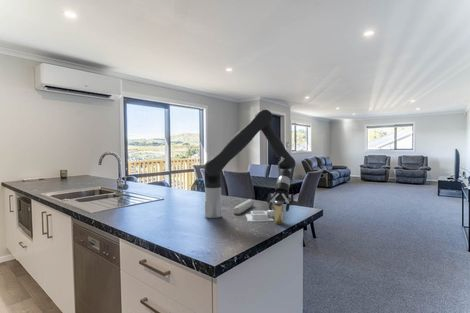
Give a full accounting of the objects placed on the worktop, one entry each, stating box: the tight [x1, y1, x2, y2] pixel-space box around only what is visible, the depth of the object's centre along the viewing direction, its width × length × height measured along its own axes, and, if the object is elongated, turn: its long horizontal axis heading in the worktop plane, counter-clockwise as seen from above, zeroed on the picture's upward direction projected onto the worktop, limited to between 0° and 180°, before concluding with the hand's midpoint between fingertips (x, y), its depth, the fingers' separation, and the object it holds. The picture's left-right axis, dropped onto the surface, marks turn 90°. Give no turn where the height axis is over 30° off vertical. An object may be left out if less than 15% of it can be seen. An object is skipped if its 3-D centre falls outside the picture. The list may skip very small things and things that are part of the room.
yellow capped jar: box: [273, 200, 285, 225], centre depth 139 cm, size 6×6×11 cm
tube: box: [233, 198, 255, 215], centre depth 168 cm, size 5×5×25 cm
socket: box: [245, 209, 274, 223], centre depth 149 cm, size 18×14×4 cm
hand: (278, 210), depth 139 cm, fingers open, 8 cm apart
